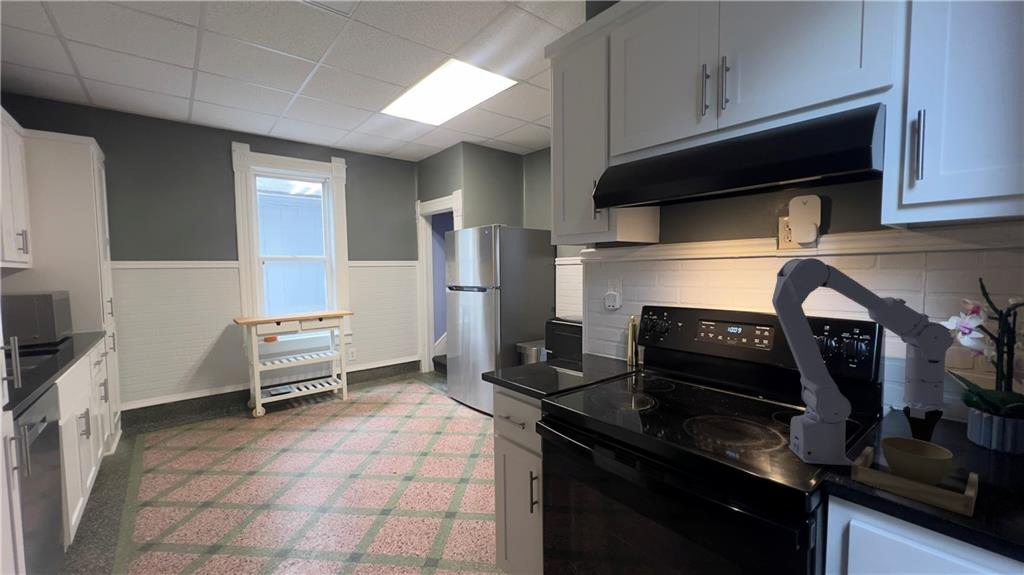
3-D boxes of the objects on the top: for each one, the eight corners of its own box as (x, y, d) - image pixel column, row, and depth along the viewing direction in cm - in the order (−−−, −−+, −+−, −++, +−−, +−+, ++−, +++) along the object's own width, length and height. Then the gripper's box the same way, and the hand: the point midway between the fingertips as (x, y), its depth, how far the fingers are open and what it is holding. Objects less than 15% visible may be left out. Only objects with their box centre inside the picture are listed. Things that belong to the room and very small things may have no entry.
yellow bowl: (967, 499, 75) (969, 460, 74) (902, 494, 77) (903, 456, 77) (925, 472, 85) (926, 437, 84) (868, 468, 87) (869, 434, 86)
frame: (972, 517, 70) (972, 499, 69) (851, 480, 82) (851, 465, 82) (977, 489, 78) (978, 473, 78) (867, 459, 90) (867, 446, 90)
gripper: (948, 390, 78) (945, 461, 79) (956, 376, 87) (953, 440, 88) (897, 382, 83) (894, 449, 84) (909, 370, 93) (907, 430, 93)
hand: (921, 443), depth 86 cm, fingers closed
